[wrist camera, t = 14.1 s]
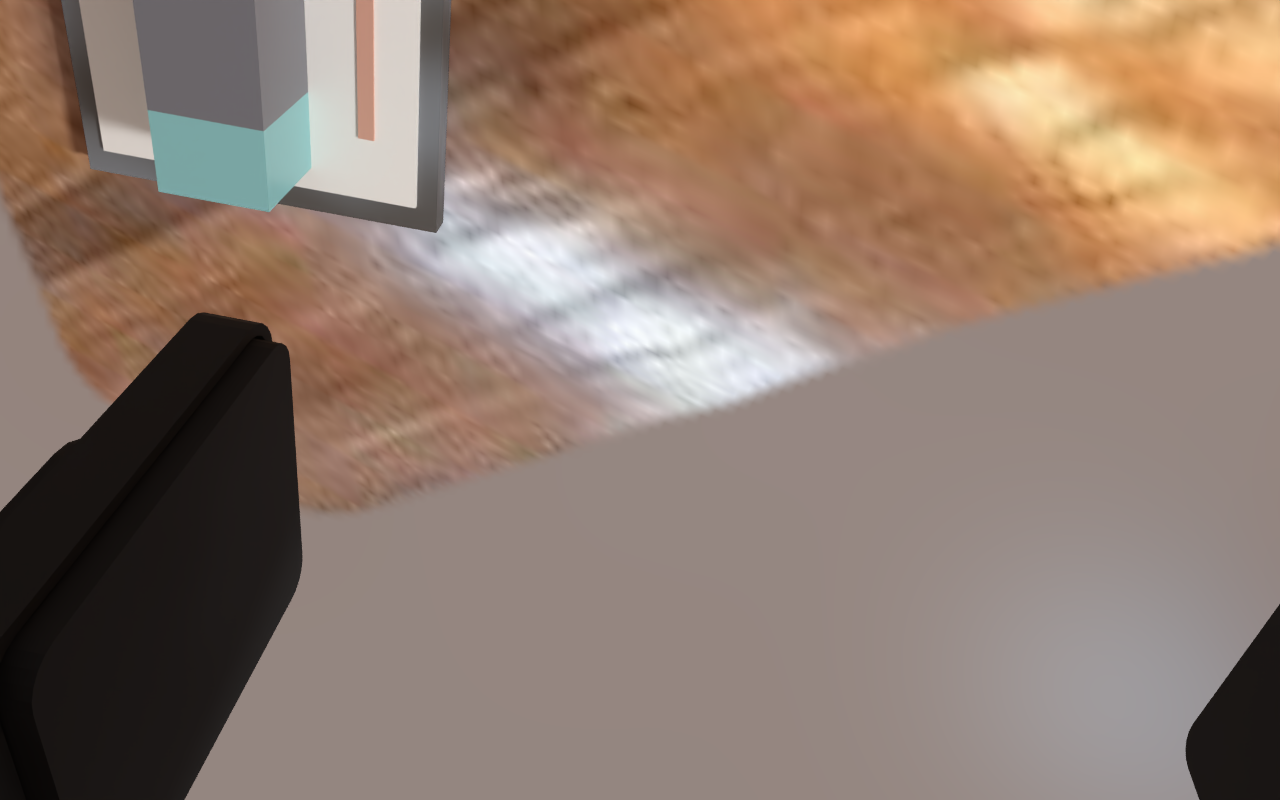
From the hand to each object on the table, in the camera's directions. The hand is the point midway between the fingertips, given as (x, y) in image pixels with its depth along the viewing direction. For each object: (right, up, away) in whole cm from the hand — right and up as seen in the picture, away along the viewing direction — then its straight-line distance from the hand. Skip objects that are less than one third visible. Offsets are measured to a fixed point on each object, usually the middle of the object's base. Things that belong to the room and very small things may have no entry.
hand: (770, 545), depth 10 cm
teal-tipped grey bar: (-15, +16, +27) cm, 35 cm away
